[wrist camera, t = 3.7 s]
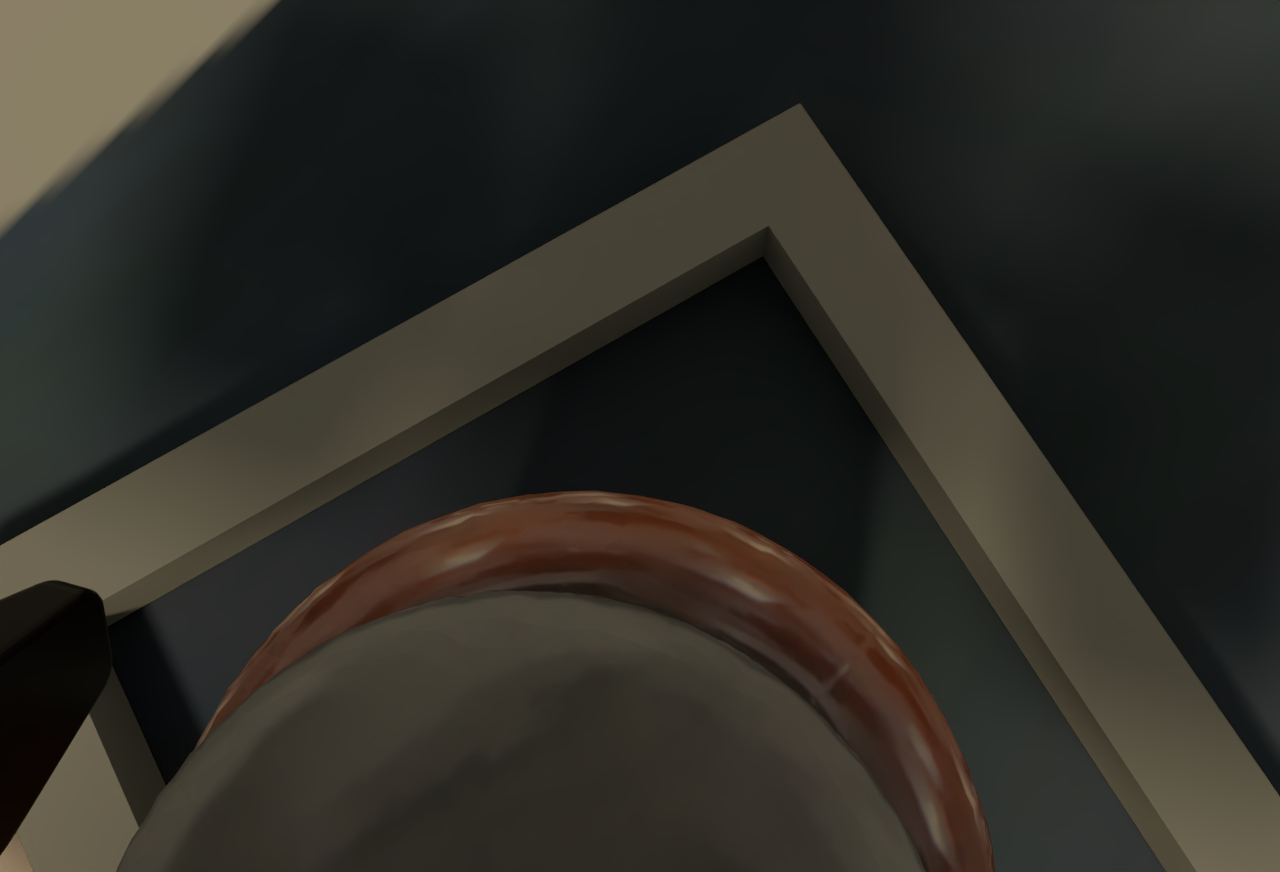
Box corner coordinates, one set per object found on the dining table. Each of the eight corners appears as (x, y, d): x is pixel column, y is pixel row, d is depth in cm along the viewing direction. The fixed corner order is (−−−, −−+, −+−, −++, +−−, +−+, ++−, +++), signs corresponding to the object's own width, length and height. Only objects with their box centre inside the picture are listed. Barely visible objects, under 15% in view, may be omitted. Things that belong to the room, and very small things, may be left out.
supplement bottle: (343, 810, 16) (-481, 1133, 5) (600, 500, 16) (433, 136, 5) (658, 1101, 15) (582, 2440, 3) (914, 753, 15) (1498, 943, 4)
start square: (1373, 993, 14) (1436, 1021, 13) (409, 1635, 13) (382, 1728, 12) (792, 141, 18) (800, 102, 16) (-27, 596, 16) (-82, 591, 15)
